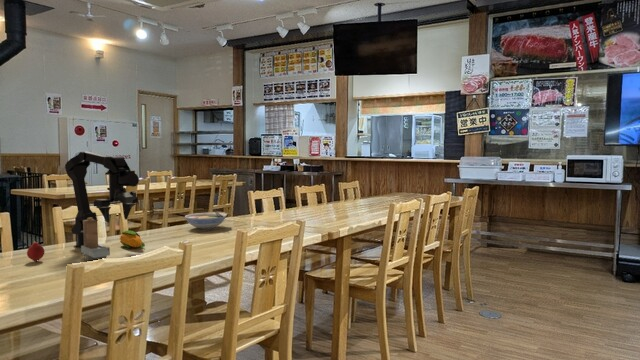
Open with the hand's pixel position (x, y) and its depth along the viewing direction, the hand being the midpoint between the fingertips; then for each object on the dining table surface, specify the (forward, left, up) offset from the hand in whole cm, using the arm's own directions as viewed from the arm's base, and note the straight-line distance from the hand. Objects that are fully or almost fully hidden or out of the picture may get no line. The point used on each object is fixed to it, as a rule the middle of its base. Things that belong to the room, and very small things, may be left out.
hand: (117, 220), depth 200 cm
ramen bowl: (+11, +59, -13) cm, 61 cm away
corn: (+3, +6, -13) cm, 15 cm away
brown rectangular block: (-2, -14, -9) cm, 17 cm away
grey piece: (+2, -16, -13) cm, 21 cm away
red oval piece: (-18, -25, -13) cm, 34 cm away
